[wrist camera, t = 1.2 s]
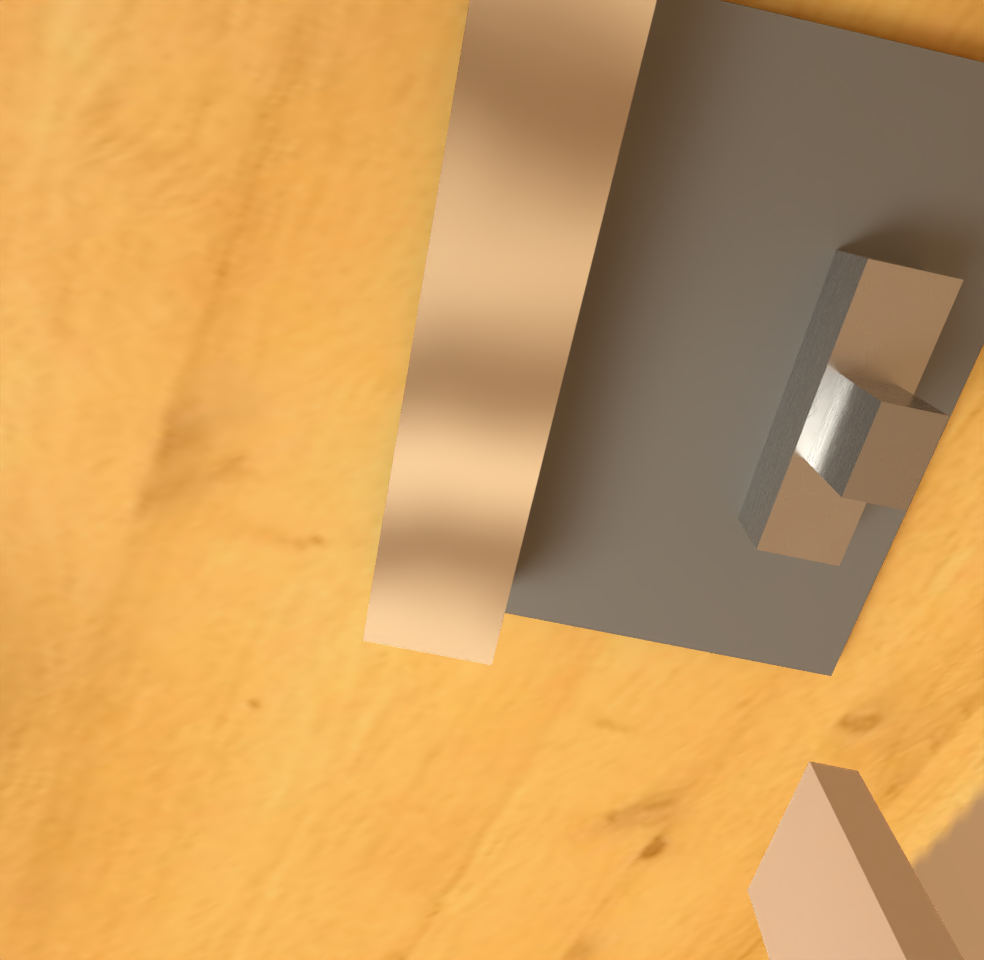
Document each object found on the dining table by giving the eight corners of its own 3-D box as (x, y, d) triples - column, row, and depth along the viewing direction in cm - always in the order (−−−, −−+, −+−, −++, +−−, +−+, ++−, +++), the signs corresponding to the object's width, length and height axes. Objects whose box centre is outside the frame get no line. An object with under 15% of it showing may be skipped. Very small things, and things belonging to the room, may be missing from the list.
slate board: (485, -48, 23) (484, -56, 22) (1078, 92, 24) (1100, 90, 23) (379, 575, 32) (375, 587, 31) (822, 661, 33) (831, 675, 32)
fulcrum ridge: (836, 249, 25) (916, 271, 20) (923, 268, 25) (1024, 296, 20) (737, 518, 29) (783, 594, 24) (813, 534, 29) (875, 612, 24)
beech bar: (487, -14, 23) (479, -59, 18) (631, 19, 23) (660, -16, 18) (386, 567, 30) (362, 640, 26) (495, 588, 31) (491, 665, 26)
